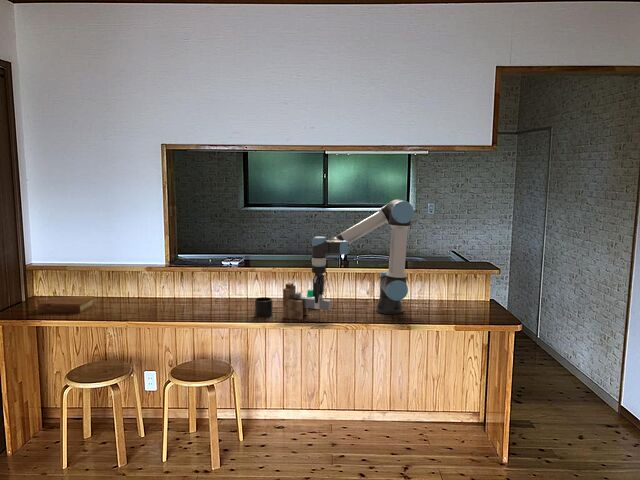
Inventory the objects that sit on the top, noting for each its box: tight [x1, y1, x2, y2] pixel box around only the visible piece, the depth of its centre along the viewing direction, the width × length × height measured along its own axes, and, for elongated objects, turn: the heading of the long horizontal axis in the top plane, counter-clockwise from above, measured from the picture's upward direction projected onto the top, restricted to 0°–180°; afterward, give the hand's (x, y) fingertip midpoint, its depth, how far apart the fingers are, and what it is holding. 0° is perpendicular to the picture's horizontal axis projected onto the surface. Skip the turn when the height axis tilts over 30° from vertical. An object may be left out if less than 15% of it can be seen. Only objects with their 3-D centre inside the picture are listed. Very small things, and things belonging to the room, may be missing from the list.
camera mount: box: [306, 289, 314, 298], centre depth 300 cm, size 12×8×10 cm, turn 172°
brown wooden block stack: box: [282, 282, 309, 321], centre depth 279 cm, size 10×11×18 cm
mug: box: [254, 297, 273, 318], centre depth 282 cm, size 9×12×9 cm
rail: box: [294, 291, 332, 311], centre depth 276 cm, size 20×4×7 cm, turn 72°
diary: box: [38, 295, 96, 314], centre depth 292 cm, size 23×19×6 cm
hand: (318, 307), depth 275 cm, fingers closed on rail, 4 cm apart
